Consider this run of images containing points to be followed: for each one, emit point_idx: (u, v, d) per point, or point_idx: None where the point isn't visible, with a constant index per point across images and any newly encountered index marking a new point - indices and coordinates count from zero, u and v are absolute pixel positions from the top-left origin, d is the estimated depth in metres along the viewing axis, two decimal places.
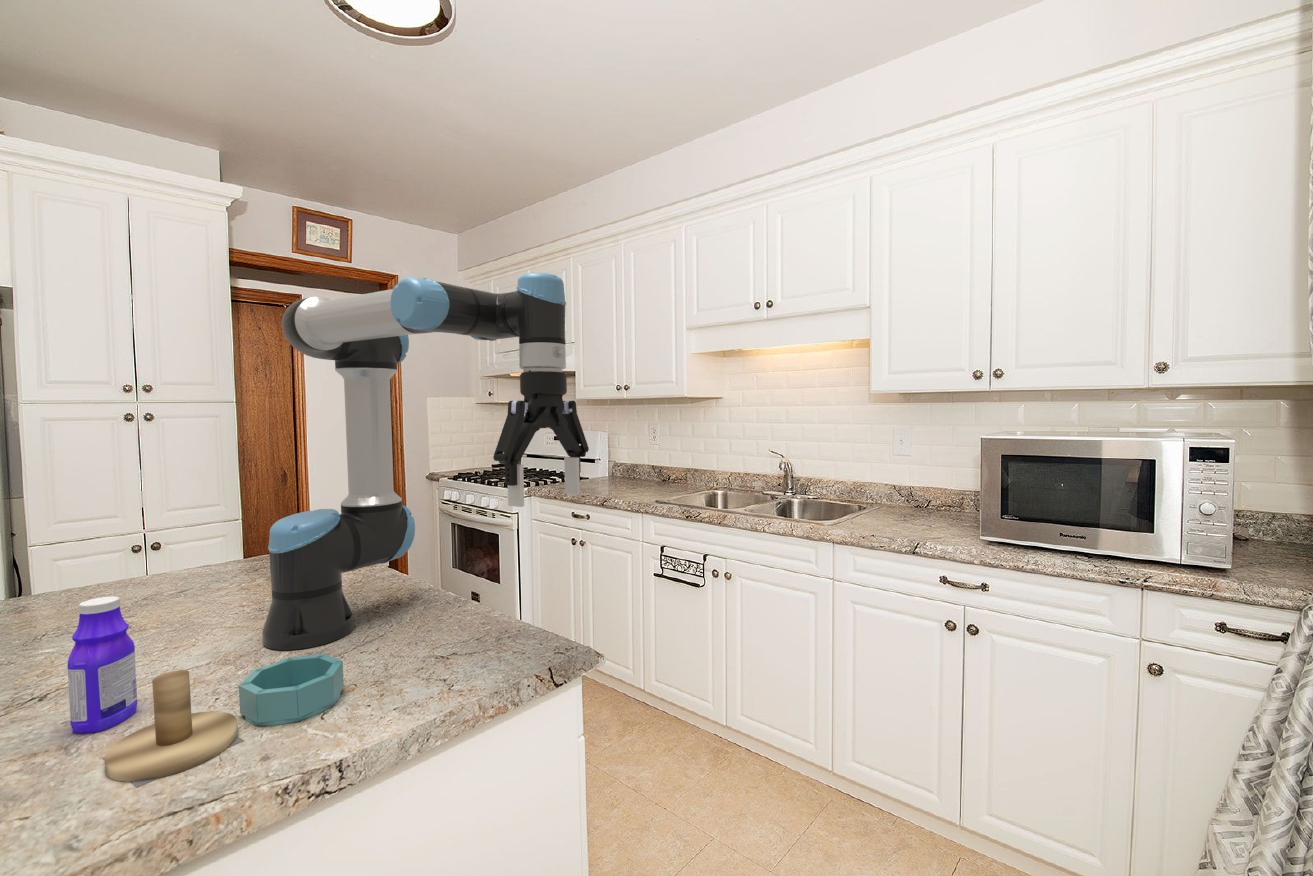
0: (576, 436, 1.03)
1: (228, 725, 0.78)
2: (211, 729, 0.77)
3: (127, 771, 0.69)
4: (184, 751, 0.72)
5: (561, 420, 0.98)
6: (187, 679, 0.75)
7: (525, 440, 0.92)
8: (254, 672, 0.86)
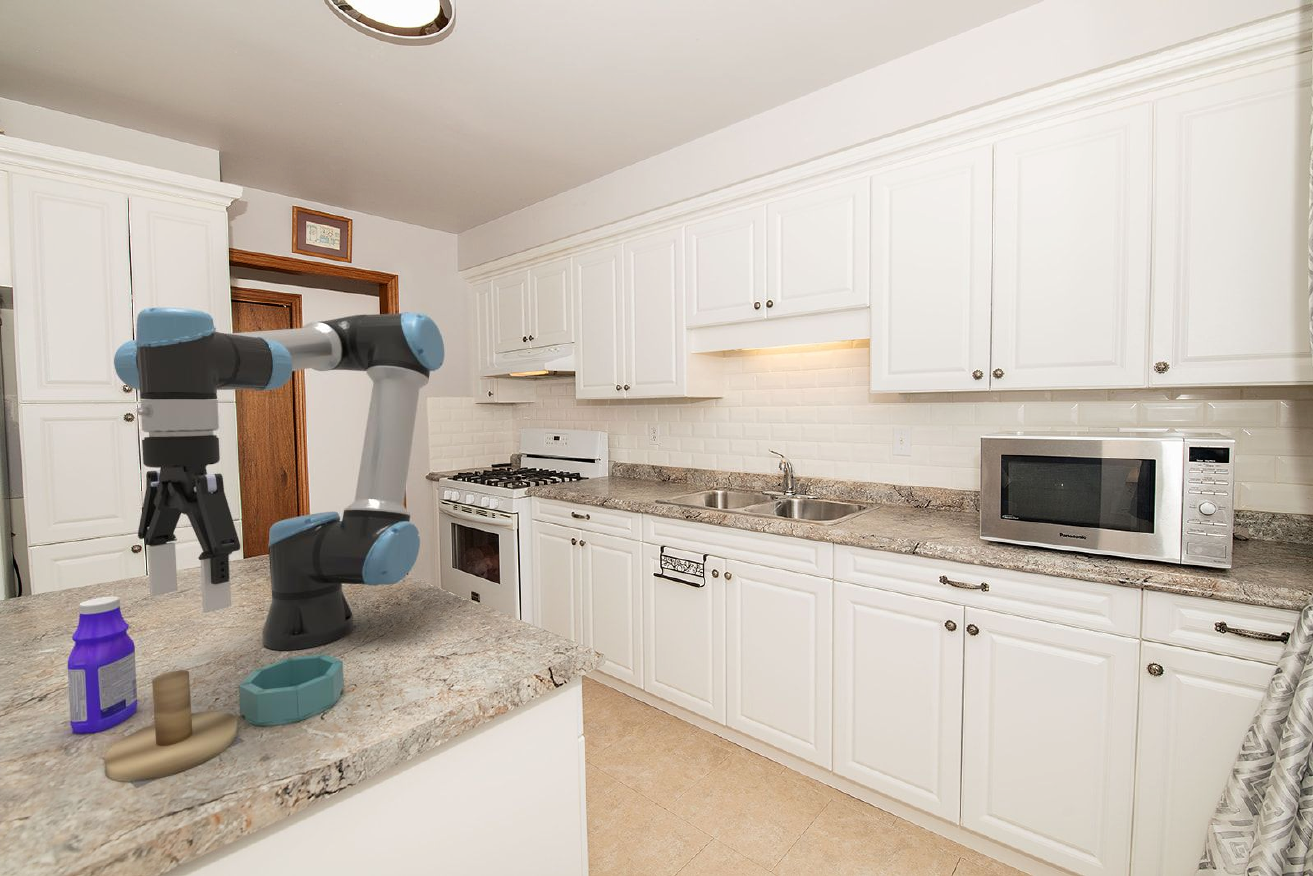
0: None
1: (228, 725, 0.78)
2: (211, 729, 0.77)
3: (127, 771, 0.69)
4: (184, 751, 0.72)
5: (177, 501, 0.72)
6: (187, 680, 0.75)
7: (153, 519, 0.76)
8: (254, 672, 0.86)
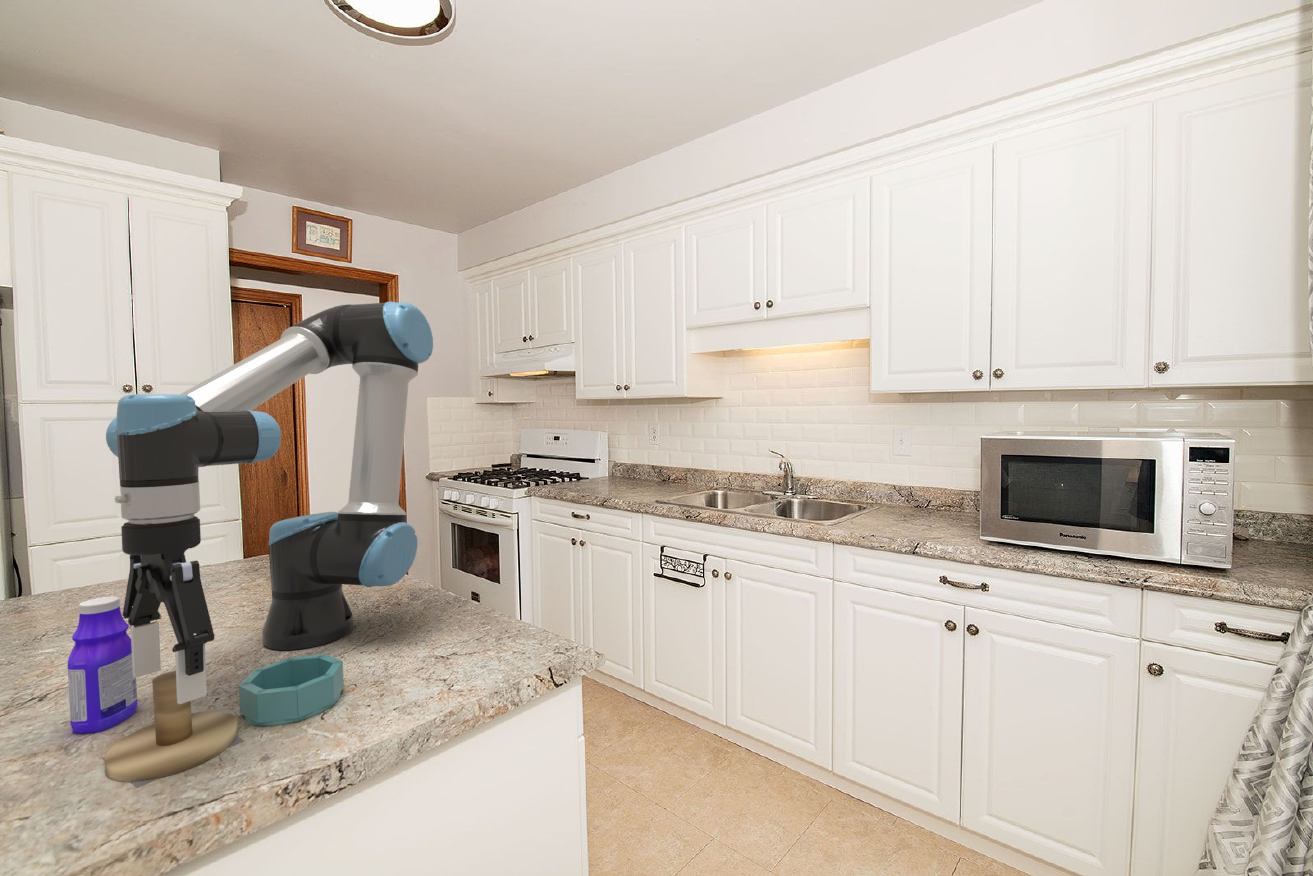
0: None
1: (228, 725, 0.78)
2: (211, 729, 0.77)
3: (127, 771, 0.69)
4: (184, 751, 0.72)
5: (155, 589, 0.71)
6: None
7: (135, 601, 0.76)
8: (254, 672, 0.86)
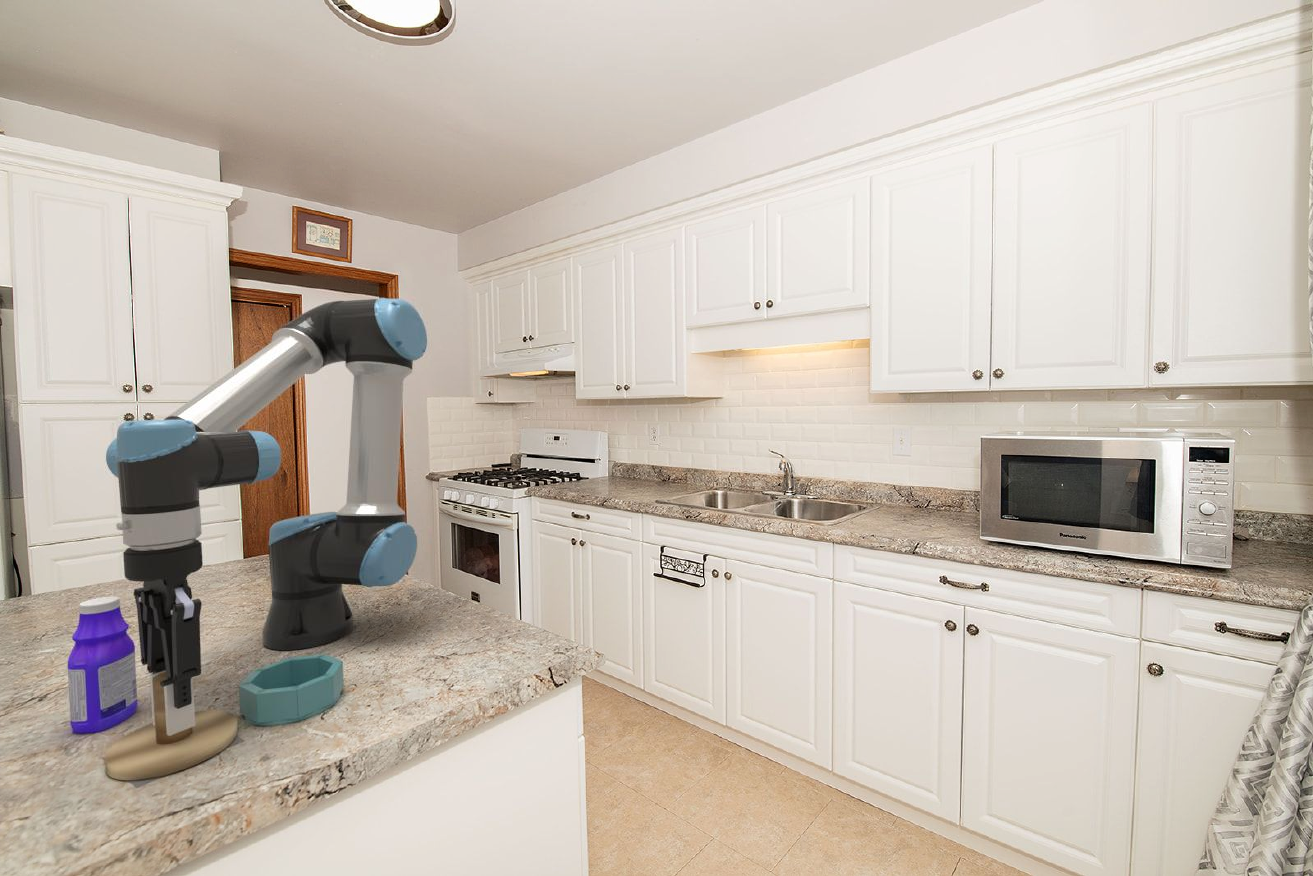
0: None
1: (229, 724, 0.78)
2: (211, 727, 0.77)
3: (127, 770, 0.69)
4: (184, 749, 0.72)
5: (154, 615, 0.72)
6: None
7: (148, 640, 0.75)
8: (254, 672, 0.86)
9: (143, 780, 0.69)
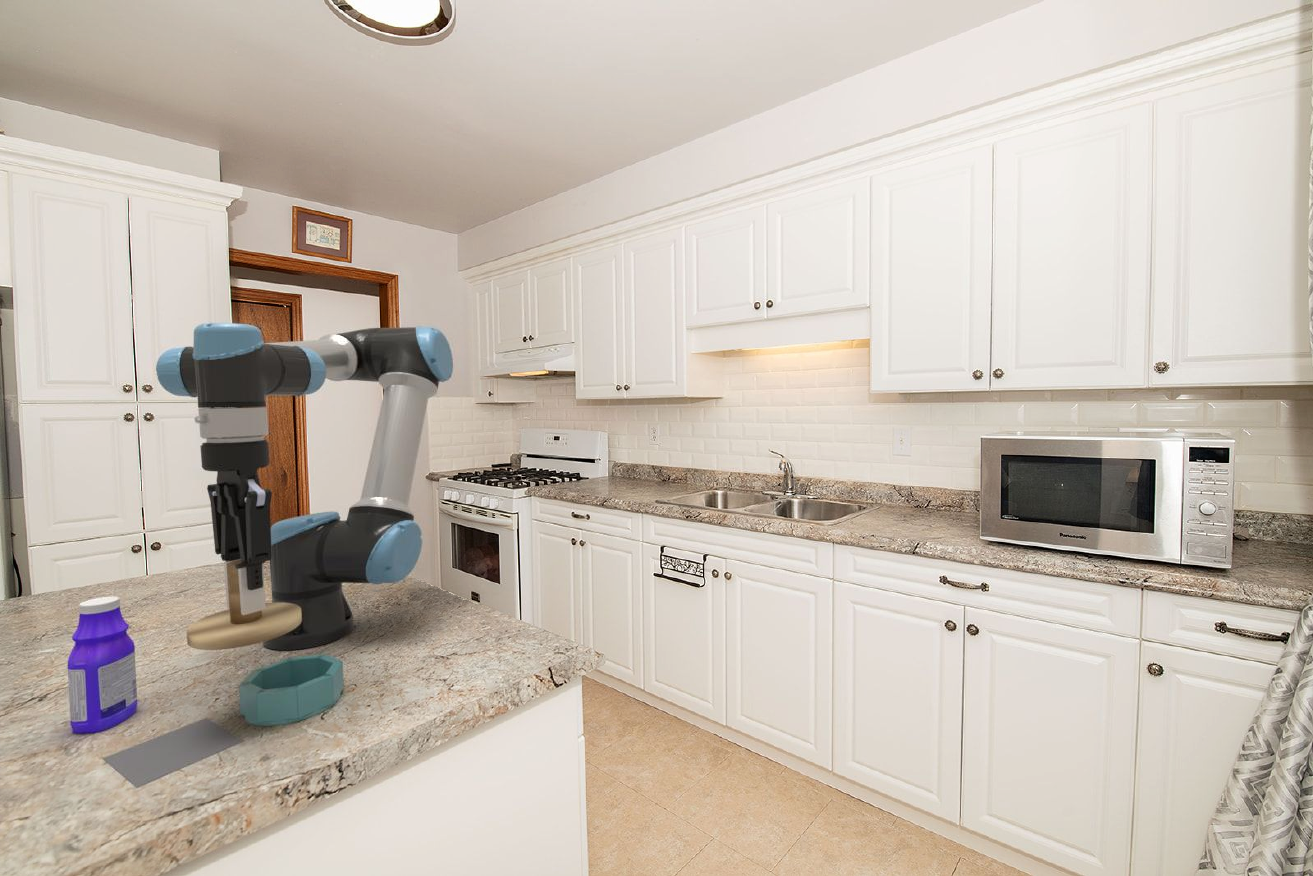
0: None
1: (294, 611, 0.84)
2: (279, 613, 0.83)
3: (208, 640, 0.75)
4: (257, 627, 0.78)
5: (229, 504, 0.78)
6: None
7: (222, 530, 0.81)
8: (254, 672, 0.86)
9: (143, 780, 0.69)
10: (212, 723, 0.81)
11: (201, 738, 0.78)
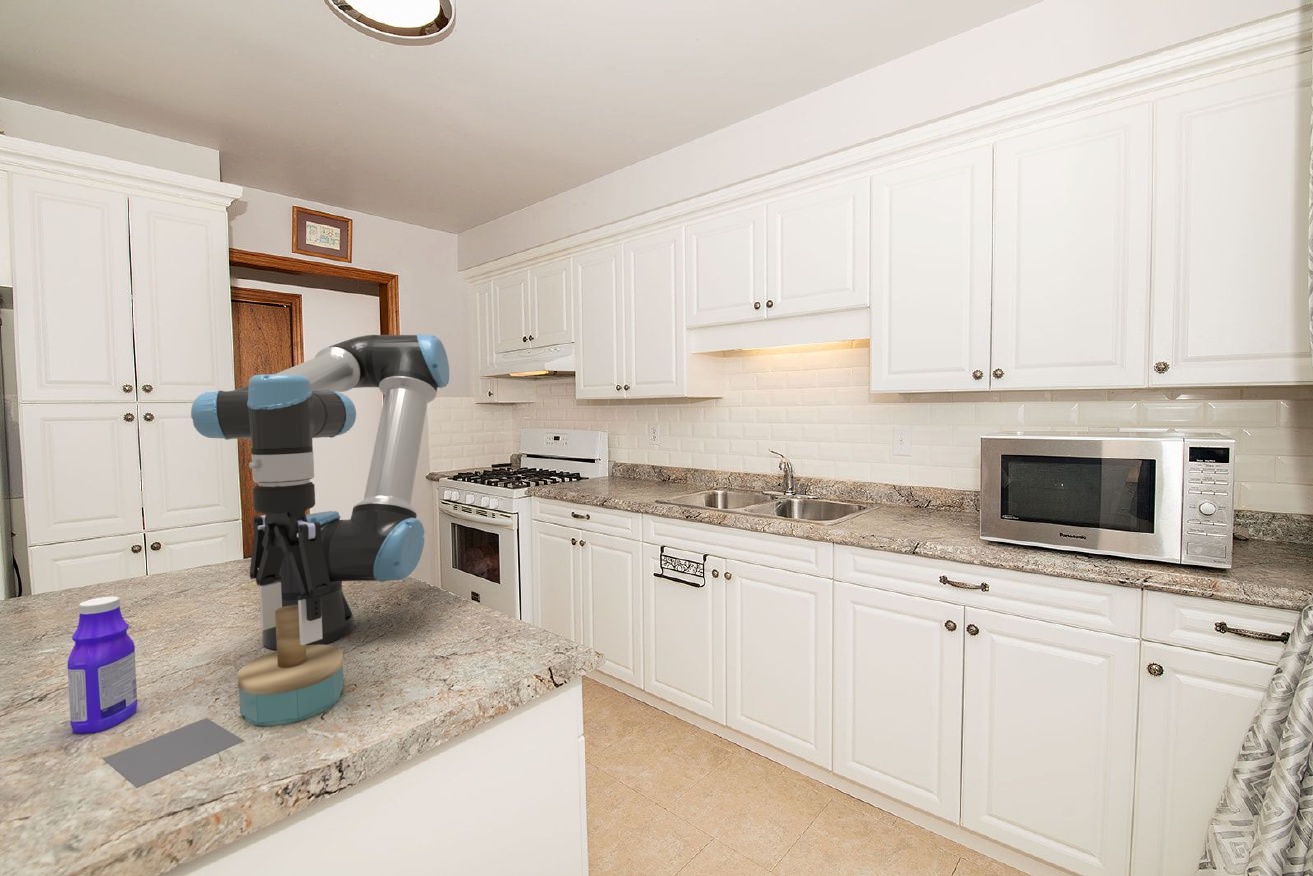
0: None
1: (336, 654, 0.89)
2: (322, 656, 0.88)
3: (261, 685, 0.80)
4: (305, 671, 0.83)
5: (281, 543, 0.83)
6: None
7: (262, 560, 0.87)
8: None
9: (143, 780, 0.69)
10: (212, 723, 0.81)
11: (201, 738, 0.78)
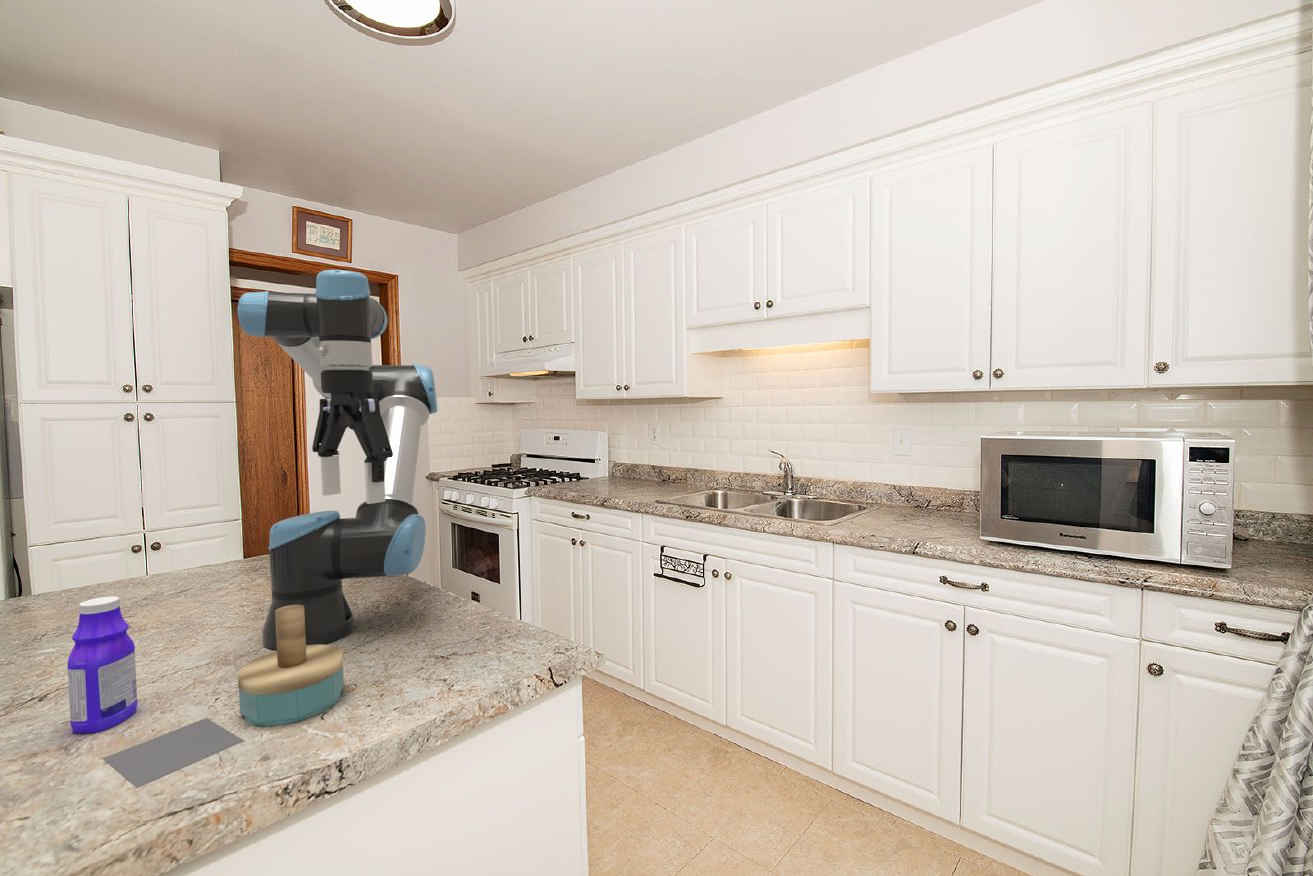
0: None
1: (336, 654, 0.89)
2: (322, 656, 0.88)
3: (261, 685, 0.80)
4: (305, 671, 0.83)
5: (346, 419, 0.94)
6: (303, 612, 0.86)
7: (325, 435, 0.99)
8: None
9: (143, 780, 0.69)
10: (212, 723, 0.81)
11: (201, 738, 0.78)
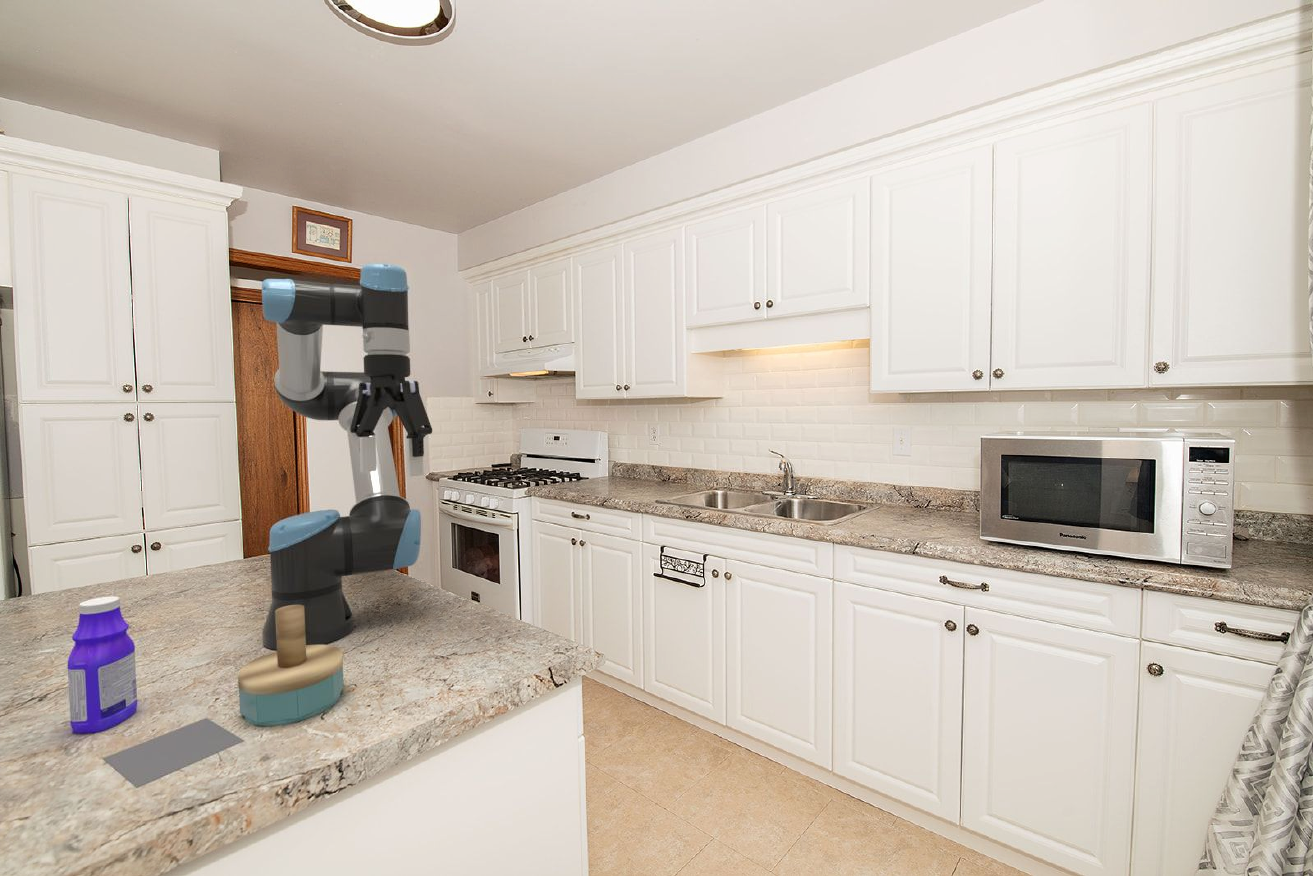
0: None
1: (336, 654, 0.89)
2: (322, 656, 0.88)
3: (261, 685, 0.80)
4: (305, 671, 0.83)
5: (388, 400, 1.02)
6: (303, 612, 0.86)
7: (364, 416, 1.07)
8: None
9: (143, 780, 0.69)
10: (212, 723, 0.81)
11: (201, 738, 0.78)
